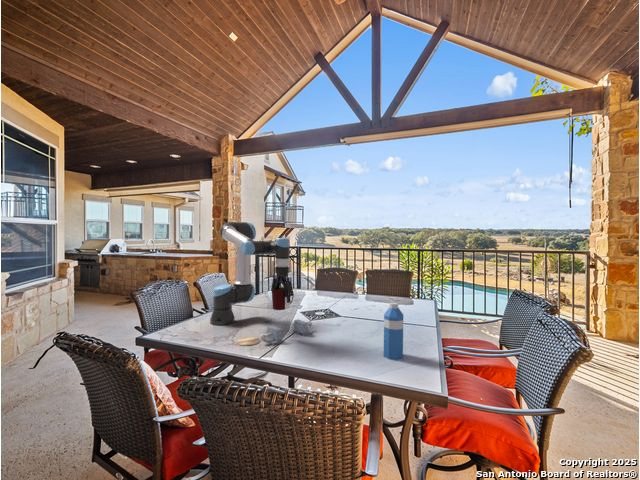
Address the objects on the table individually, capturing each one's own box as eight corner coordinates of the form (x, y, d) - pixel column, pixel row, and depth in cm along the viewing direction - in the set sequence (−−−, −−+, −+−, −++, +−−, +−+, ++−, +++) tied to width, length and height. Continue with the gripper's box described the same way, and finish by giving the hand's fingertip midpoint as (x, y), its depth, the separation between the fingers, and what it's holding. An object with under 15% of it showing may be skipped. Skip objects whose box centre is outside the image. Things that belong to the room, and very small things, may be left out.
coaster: (232, 341, 158) (232, 340, 158) (252, 336, 167) (252, 335, 167) (244, 347, 150) (244, 346, 150) (264, 342, 158) (264, 341, 158)
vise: (256, 341, 158) (256, 328, 158) (305, 328, 181) (305, 317, 181) (267, 347, 151) (267, 333, 151) (316, 332, 174) (316, 320, 174)
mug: (294, 307, 168) (294, 287, 168) (292, 311, 160) (292, 290, 159) (273, 306, 169) (273, 286, 169) (269, 310, 160) (270, 289, 160)
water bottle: (380, 352, 146) (381, 301, 145) (399, 351, 146) (400, 301, 146) (386, 360, 136) (387, 305, 136) (406, 359, 137) (407, 305, 137)
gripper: (264, 264, 169) (264, 304, 170) (289, 268, 154) (289, 311, 154) (275, 263, 175) (275, 302, 175) (300, 267, 159) (300, 309, 160)
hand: (281, 306), depth 165 cm, fingers closed on mug, 9 cm apart
